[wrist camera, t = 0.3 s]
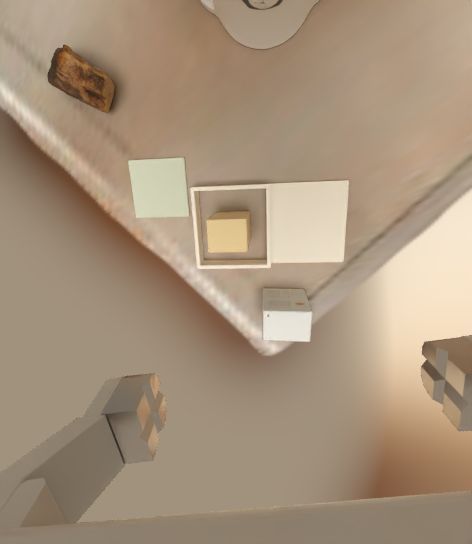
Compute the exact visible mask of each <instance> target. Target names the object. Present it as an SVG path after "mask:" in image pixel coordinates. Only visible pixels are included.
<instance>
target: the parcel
mask: <svg viewBox="0 0 472 544" xmlns="http://www.w3.org/2000/svg"><path fill="white" fill-rule="evenodd" d="M206 223H207V237H208V251H209V253H210V252H247V251H248V247H249V243H250V211H239V212H216V213H215V214H214V215H212V216H211V217H210V218H208V219H207V220H206Z"/></svg>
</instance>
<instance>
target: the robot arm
mask: <svg viewBox="0 0 472 544" xmlns="http://www.w3.org/2000/svg"><path fill="white" fill-rule="evenodd" d="M200 1H201V4H202V5H203V6H204V7H205V8H206V9H207V10H208V11H210V12H211V13H213V14H214V15H216V16H217V17H218V18H219V20H220V21H221V23H222V25H223V26H224V28H225V29H226V31H227V32H228V33H229V34H230V35H231V36H232V37H233V38H234V39H235V40H236V41H237V42H239V43H241V44H242V45H244V46H247V47H250V48H254V49H268V48H272V47H275V46H278V45H280V44H282V43H284V42H285V41H287V40H288V39H289V38H291V37H292V36H293V35H294V34H295V33H296V32H297V31H298V29H299V28H300V27H301V26H302V24H303V22H304V21H305V19H306V17H307V15H308V14H309V12H310V10H311V9H312V7H313V6H314V5H315V4H316V3H317V2H319V1H320V0H200ZM422 355H423V356H424V357H425V358H426V359H427V360H426V361H425V362H424V364H423V365H422V366H421V378H422V381H423V385H424V387H425V389H426V391H427V393H428V394H429V395H430V397H431V398H432V399H433V400H435V401H437V402H439V403H441V404H443V413H444V414H445V415H446V416H447V418H448V419H449V420H450V421H451V422H452V424H453V425H454V426H455V427H456V428H457V430H458V431H472V335H469V336H462V337H459V338H451V339H443V340H435V341H428V342H424V344H423V346H422ZM159 387H160V381H159V378H158V375H156V374H155V373H153V374H142V375H133V376H125V377H123V376H122V377H113V378H109V379H107V380H106V381H105V383H104V385H103V386H102V388H101V389H100V390H99V392H98V394H97V395H96V397H95V398H94V400H93V401H92V403H91V404H90V406H89V407H88V409H87V411H86V412H85V414H84V415H83V417H80V418H76V419H75V420H73V421H72V422H71V423H69V424H68V425H66V426H65V427H64V428H62V429H61V430H60V431H58V432H57V433H55V434H54V435H52V436H51V437H50V438H49V439H47V440H46V441H44V442H43V443H41V444H40V445H39V446H37V447H36V448H35V449H33V450H32V451H30V452H29V453H27V454H26V455H24V456H23V457H22V458H20V459H19V460H17V461H16V462H15V463H13V464H12V465H10V466H9V467H8V468H6V469H5V470H4V471H2V472H1V473H0V544H472V491H461V492H451V493H450V492H449V493H437V494H425V495H412V496H400V497H387V498H375V499H363V500H351V501H338V502H326V503H314V504H302V505H289V506H277V507H265V508H254V509H241V510H228V511H216V512H204V513H191V514H179V515H167V516H155V517H142V518H130V519H118V520H106V521H94V522H81V523H76V522H77V521H78V520H79V519H80V518H81V516H82V515H83V514H84V513H85V512H86V511H87V509H88V508H89V507H90V506H91V505H92V503H93V502H94V501H95V500H96V499H97V498H98V497H99V495H100V494H101V493H102V492H103V491H104V490H105V488H106V487H107V486H108V485H109V484H110V483H111V481H112V480H113V479H114V478H115V477H116V476H117V474H118V473H119V472H120V471H121V470H122V468H123V467H124V464H131V463H138V462H146V461H153V460H154V457H155V454H156V451H157V447H158V444H159V441H160V439H159V436H158V432H159V431H160V430H162V428H163V427H164V424H165V421H166V412H167V408H166V401H165V397H164V395H163V394H162V393H160V392H159V391H158V390H159Z"/></svg>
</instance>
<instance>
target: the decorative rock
mask: <svg viewBox="0 0 472 544" xmlns="http://www.w3.org/2000/svg"><path fill="white" fill-rule="evenodd" d="M51 64H52V65H51V68H50V70H49V72H48V81H49V83H50V84H51V85H53V86H55V87H57V88H58V89H60V90H62V91H64V92H65V93H66V94H68V95H70V96H72V97H74V98H76V99H79V100H80V101H82V102H84V103H86V104H88V105H90V106H93V107H95V108H97V109H99V110H101V111H103V112H108V111H109V110H110V106H111V102H112V99H113V96H114V89H115V85H114V84H113V83H112V81H111V78H110V77H109V76H108V75H107V74H105V73H104V72H103V71H102V70H101V69H99V68H97V67H95V66H92V65H91V64H90V63H88V62H86V61H85V60H84V59H83V58H82V57H80V56H79V55H77V54H76V53H75V52H73V51H72V49H71V48H70V47H69V46H67V45H63V48H57V49H56V51H55V53H54V56H53V58H52V61H51Z"/></svg>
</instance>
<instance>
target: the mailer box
mask: <svg viewBox="0 0 472 544" xmlns="http://www.w3.org/2000/svg"><path fill="white" fill-rule="evenodd" d="M258 188H266V216H267V259H256V260H204V254H203V241H202V228H201V216H200V203H199V191H209V190H234V189H258ZM348 188H349V180H343V181H319V182H295V183H272V184H248V185H225V186H201V187H190V191H191V202H192V214H193V225H194V237H195V248H196V260H197V269H222V268H271V263H308V262H343V261H344V246H345V232H346V217H347V203H348Z"/></svg>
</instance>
